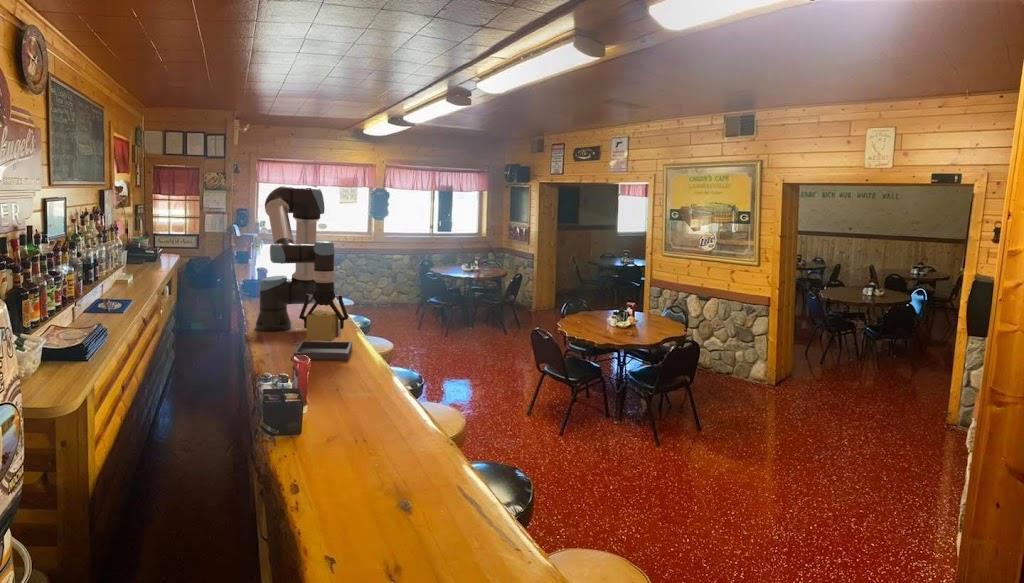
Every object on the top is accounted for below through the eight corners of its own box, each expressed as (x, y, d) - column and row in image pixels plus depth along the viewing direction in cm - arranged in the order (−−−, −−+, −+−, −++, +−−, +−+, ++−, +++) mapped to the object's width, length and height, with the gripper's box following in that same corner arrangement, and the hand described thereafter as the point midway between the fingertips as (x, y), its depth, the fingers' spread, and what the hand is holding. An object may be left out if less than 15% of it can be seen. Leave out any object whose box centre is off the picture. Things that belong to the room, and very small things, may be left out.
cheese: (341, 336, 257) (341, 311, 256) (331, 342, 247) (331, 316, 245) (316, 334, 258) (316, 309, 257) (305, 340, 248) (304, 315, 246)
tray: (301, 348, 261) (301, 341, 261) (352, 348, 264) (352, 341, 264) (293, 360, 244) (293, 352, 243) (347, 360, 247) (347, 353, 246)
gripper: (290, 282, 244) (291, 338, 247) (354, 283, 247) (353, 339, 251) (294, 279, 251) (294, 334, 254) (356, 280, 255) (355, 334, 258)
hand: (324, 336), depth 253 cm, fingers closed on cheese, 11 cm apart
